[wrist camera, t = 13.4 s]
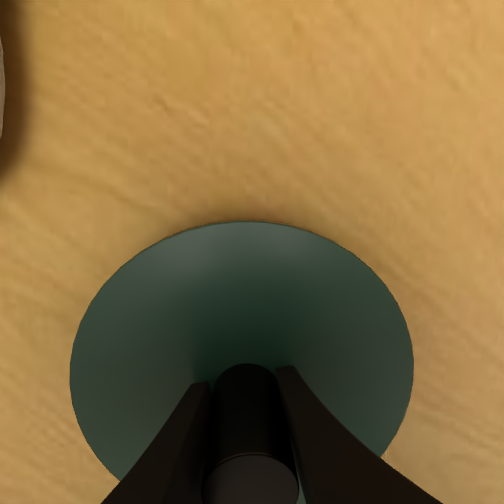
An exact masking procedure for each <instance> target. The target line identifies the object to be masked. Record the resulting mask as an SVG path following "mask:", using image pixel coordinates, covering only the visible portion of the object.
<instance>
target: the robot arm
mask: <svg viewBox="0 0 504 504" xmlns="http://www.w3.org/2000/svg"><path fill="white" fill-rule="evenodd" d="M275 369H276V375H277V380H278V386H279V391H280V396H281V401H282V406H283V410H284V414H285V418H286V422H287V427H288V431H289V436H290V441H291V446H292V451H293V456H294V461H295V466H296V470H297V473H298V477H299V480H300V484H301V487H302V491H303V494H304V498H305V501H306V504H443V503H441V502H440V501H438V500H437V499H435V498H434V497H432V496H431V495H429V494H428V493H427V492H425V491H424V490H422V489H421V488H420V487H418V486H417V485H416V484H414V483H413V482H411V481H410V480H409V479H407V478H406V477H405V476H403V475H402V474H401V473H399V472H398V471H396V470H395V469H394V468H392V467H391V466H390V465H388V464H387V463H386V462H385V461H384V460H382V459H381V458H380V457H379V456H377V455H376V454H375V453H374V452H373V451H371V450H370V449H369V448H368V447H367V446H366V445H364V444H363V443H362V442H361V441H360V440H359V439H358V438H357V437H355V436H354V435H353V434H352V433H351V432H350V431H349V430H348V429H347V428H346V427H345V426H344V425H343V424H342V423H341V422H340V421H339V420H338V419H337V418H336V417H335V416H334V415H333V414H332V413H331V412H330V411H329V410H328V409H327V407H326V406H325V405H324V404H323V403H322V402H321V401H320V399H319V398H318V397H317V396H316V395H315V394H314V392H313V391H312V390H311V389H310V387H309V386H308V385H307V384H306V382H305V381H304V379H303V378H302V377H301V375H300V374H299V372H298V370H297V369H296V367H294V366H293V365H290V366H285V367H279V368H275ZM211 405H212V395H211V391H210V387H209V383H208V381H204V382H199V383H194V384H191V385H190V386H189V388H188V389H187V390H186V392H185V393H184V395H183V397H182V398H181V400H180V401H179V403H178V404H177V406H176V407H175V409H174V410H173V412H172V413H171V415H170V416H169V418H168V419H167V421H166V422H165V424H164V425H163V426H162V428H161V429H160V431H159V432H158V434H157V435H156V437H155V438H154V439H153V441H152V442H151V443H150V445H149V446H148V447H147V449H146V450H145V451H144V453H143V454H142V455H141V457H140V458H139V459H138V461H137V462H136V463H135V464H134V466H133V467H132V468H131V469H130V471H129V472H128V473H127V474H126V475H125V477H124V478H123V479H122V480H121V481H120V482H119V484H118V485H117V486H116V487H115V488H114V489H113V490H112V492H111V493H110V494H109V495H108V496H107V497H106V498H105V499H104V501H103V502H102V503H101V504H203V503H202V499H201V485H202V477H203V469H204V461H205V453H206V445H207V437H208V429H209V421H210V413H211Z"/></svg>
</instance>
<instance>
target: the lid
mask: <svg viewBox="0 0 504 504" xmlns="http://www.w3.org/2000/svg"><path fill="white" fill-rule="evenodd" d="M290 365H293V366H294V367H296V369H297V370H298V372H299V374H300V375H301V377H302V378H303V379H304V381H305V382H306V384H307V385H308V386H309V387H310V389H311V390H312V391H313V392H314V394H315V395H316V396H317V397H318V398H319V399H320V401H321V402H322V403H323V404H324V405H325V406H326V407H327V409H328V410H329V411H330V412H331V413H332V414H333V415H334V416H335V417H336V418H337V419H338V420H339V421H340V422H341V423H342V424H343V425H344V426H345V427H346V428H347V429H348V430H349V431H350V432H351V433H352V434H353V435H354V436H355V437H357V438H358V439H359V440H360V441H361V442H362V443H363V444H364V445H366V446H367V447H368V448H369V449H370V450H371V451H373V452H374V453H375V454H376V455H377V456H379V457H381V455H382V454H383V453H384V452H385V451H386V449H387V448H388V446H389V445H390V443H391V441H392V440H393V438H394V437H395V435H396V434H397V431H398V429H399V427H400V425H401V423H402V421H403V419H404V417H405V413H406V410H407V407H408V404H409V401H410V397H411V391H412V385H413V372H414V358H413V351H412V343H411V338H410V335H409V331H408V328H407V324H406V321H405V319H404V316H403V314H402V312H401V310H400V308H399V306H398V303H397V302H396V300H395V299H394V297H393V295H392V294H391V292H390V291H389V289H388V288H387V286H386V285H385V284H384V283H383V281H382V280H381V279H380V278H379V277H378V276H377V275H376V274H375V272H374V271H373V270H372V269H371V268H370V267H369V266H367V265H366V264H365V263H364V262H363V261H361V260H360V259H359V258H358V257H357V256H355V255H354V254H353V253H351V252H350V251H348V250H346V249H345V248H343V247H342V246H340V245H338V244H337V243H335V242H334V241H332V240H330V239H328V238H326V237H323V236H321V235H319V234H316V233H314V232H312V231H310V230H307V229H303V228H300V227H296V226H293V225H289V224H286V223H280V222H273V221H266V220H240V219H236V220H228V221H219V222H211V223H207V224H204V225H200V226H196V227H192V228H188V229H185V230H183V231H180V232H178V233H175V234H173V235H170V236H168V237H165V238H164V239H162V240H160V241H158V242H157V243H155V244H153V245H151V246H149V247H148V248H146V249H144V250H143V251H141V252H140V253H138V254H137V255H136V256H135V257H133V258H132V259H131V260H129V261H128V262H127V263H125V264H124V265H123V266H121V267H120V268H119V269H118V270H117V271H116V272H115V273H114V274H113V276H112V277H111V278H110V279H109V280H108V281H107V282H106V283H105V284H104V285H103V286H102V288H101V289H100V290H99V292H98V293H97V295H96V296H95V297H94V299H93V300H92V301H91V303H90V305H89V307H88V309H87V311H86V313H85V315H84V316H83V318H82V320H81V322H80V325H79V328H78V331H77V334H76V337H75V340H74V343H73V349H72V355H71V361H70V391H71V398H72V405H73V408H74V411H75V415H76V418H77V421H78V424H79V426H80V428H81V430H82V433H83V435H84V437H85V439H86V441H87V443H88V444H89V446H90V447H91V449H92V450H93V452H94V453H95V455H96V456H97V458H98V459H99V460H100V461H101V462H102V463H103V465H104V466H105V467H106V468H107V469H108V470H109V472H110V473H112V474H113V475H114V476H115V477H116V478H117V479H118V480H119V481H121V480H122V479H123V478H124V477H125V475H126V474H127V473H128V472H129V471H130V469H131V468H132V467H133V466H134V464H135V463H136V462H137V461H138V459H139V458H140V457H141V455H142V454H143V453H144V451H145V450H146V449H147V447H148V446H149V445H150V443H151V442H152V441H153V439H154V438H155V437H156V435H157V434H158V432H159V431H160V429H161V428H162V426H163V425H164V424H165V422H166V421H167V419H168V418H169V416H170V415H171V413H172V412H173V410H174V409H175V407H176V406H177V404H178V403H179V401H180V400H181V398H182V397H183V395H184V393H185V392H186V390H187V389H188V388H189V386H190V385H191V384H194V383H199V382H204V381H208V383H209V387H210V391H211V395H212V405H211V413H210V421H209V429H208V437H207V445H206V453H205V461H204V469H203V477H202V485H201V499H202V503H203V504H306V501H305V498H304V494H303V491H302V487H301V484H300V480H299V477H298V473H297V470H296V466H295V461H294V456H293V451H292V446H291V441H290V436H289V431H288V427H287V422H286V418H285V414H284V410H283V406H282V401H281V396H280V391H279V386H278V380H277V375H276V369H275V368H279V367H285V366H290Z"/></svg>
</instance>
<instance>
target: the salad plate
mask: <svg viewBox="0 0 504 504" xmlns="http://www.w3.org/2000/svg"><path fill="white" fill-rule="evenodd" d="M4 101H5V74H4V63H3V49H2V44H1V37H0V139H1V135H2V127H3V112H4Z"/></svg>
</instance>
